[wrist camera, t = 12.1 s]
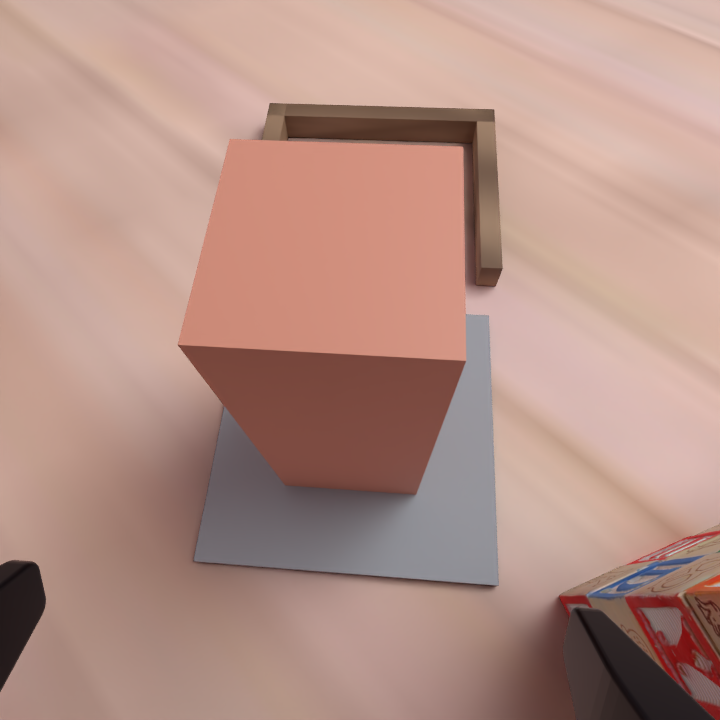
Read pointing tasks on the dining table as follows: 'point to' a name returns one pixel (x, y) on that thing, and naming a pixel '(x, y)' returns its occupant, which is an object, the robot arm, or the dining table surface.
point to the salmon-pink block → (334, 306)
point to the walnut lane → (413, 127)
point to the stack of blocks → (668, 610)
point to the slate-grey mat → (367, 502)
